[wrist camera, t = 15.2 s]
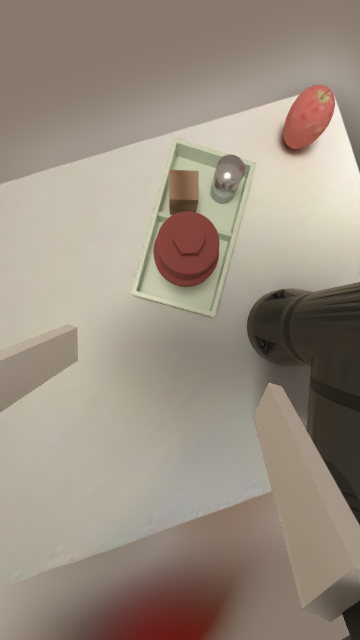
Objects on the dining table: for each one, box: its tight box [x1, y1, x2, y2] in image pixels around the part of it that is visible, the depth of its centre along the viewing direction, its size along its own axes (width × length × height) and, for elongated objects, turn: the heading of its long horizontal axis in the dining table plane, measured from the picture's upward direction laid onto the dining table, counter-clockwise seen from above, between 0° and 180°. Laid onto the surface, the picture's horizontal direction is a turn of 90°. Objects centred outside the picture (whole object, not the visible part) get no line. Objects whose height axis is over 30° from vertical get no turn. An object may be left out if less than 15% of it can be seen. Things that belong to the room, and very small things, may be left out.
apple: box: [283, 85, 335, 149], centre depth 31 cm, size 7×7×8 cm
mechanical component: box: [153, 211, 220, 287], centre depth 27 cm, size 12×10×10 cm
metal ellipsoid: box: [210, 155, 245, 204], centre depth 31 cm, size 5×5×5 cm
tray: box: [131, 138, 256, 317], centre depth 32 cm, size 16×30×3 cm, turn 165°
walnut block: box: [169, 170, 199, 215], centre depth 31 cm, size 5×5×5 cm
